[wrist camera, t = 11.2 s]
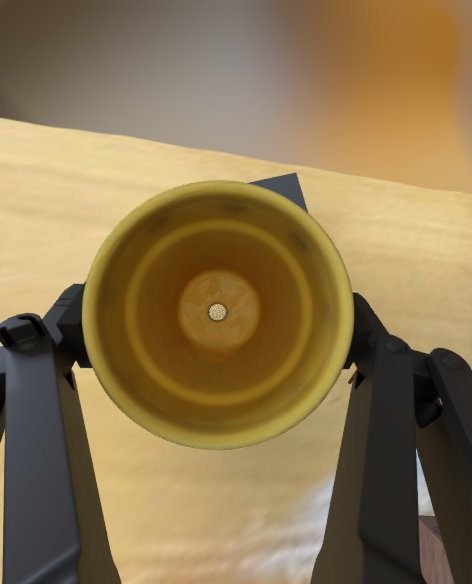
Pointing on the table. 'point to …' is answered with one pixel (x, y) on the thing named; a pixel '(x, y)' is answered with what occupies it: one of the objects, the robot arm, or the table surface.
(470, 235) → the table surface
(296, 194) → the top block
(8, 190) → the table surface
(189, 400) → the flower pot
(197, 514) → the table surface
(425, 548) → the tissue box cover
